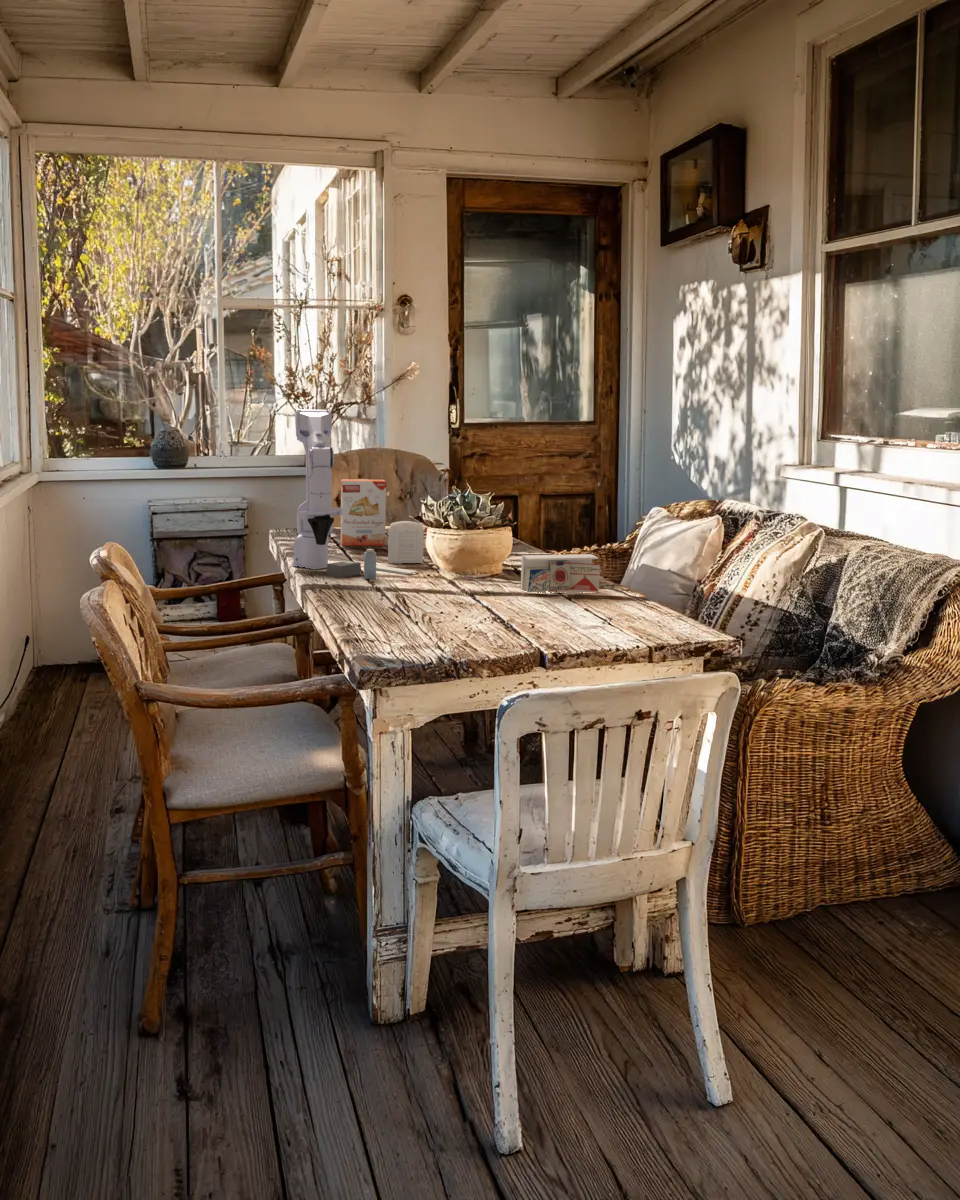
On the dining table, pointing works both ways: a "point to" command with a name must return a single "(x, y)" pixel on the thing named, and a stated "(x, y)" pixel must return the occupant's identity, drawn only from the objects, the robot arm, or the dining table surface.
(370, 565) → the peg
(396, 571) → the batten
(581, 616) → the dining table surface
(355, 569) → the box
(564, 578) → the cigarette display
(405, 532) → the light grey rounded block
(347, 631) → the dining table surface
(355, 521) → the cracker box
